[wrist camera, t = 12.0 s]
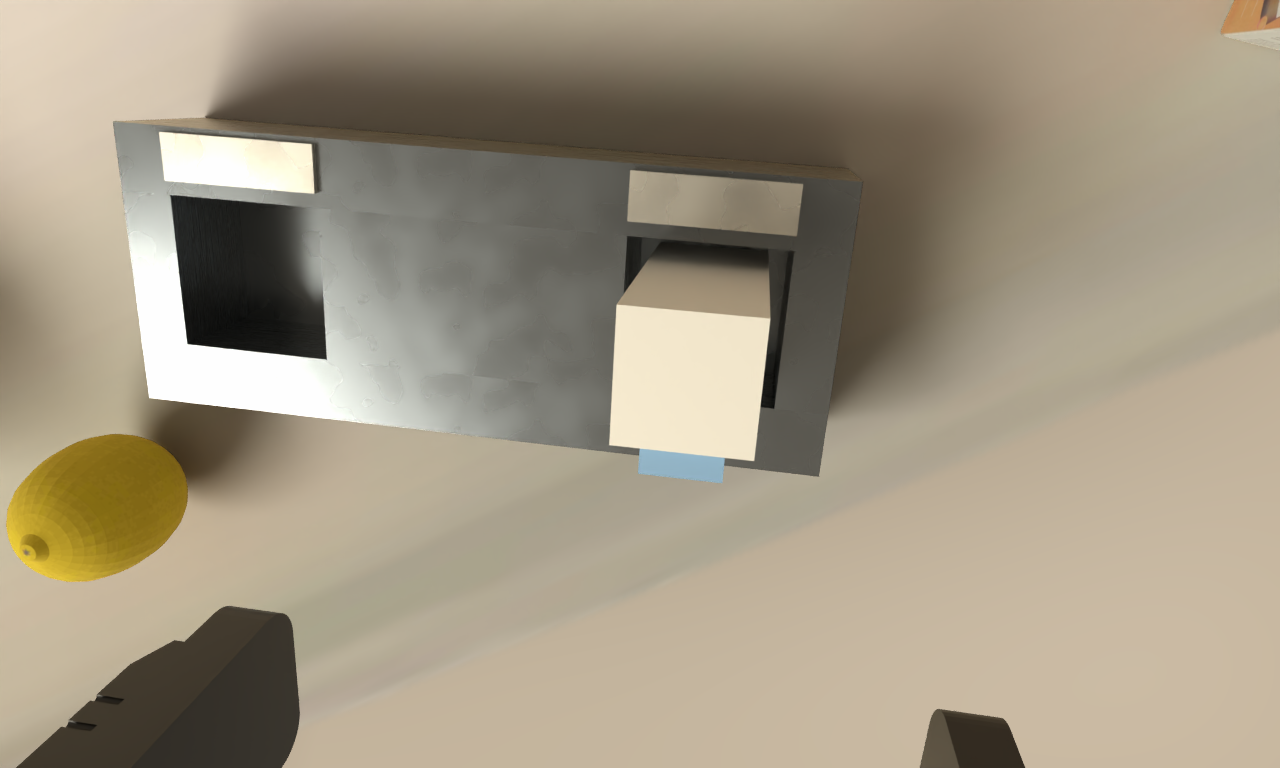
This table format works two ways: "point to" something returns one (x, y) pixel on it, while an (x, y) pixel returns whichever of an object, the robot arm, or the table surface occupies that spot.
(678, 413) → the plug
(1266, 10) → the small box
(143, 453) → the lemon
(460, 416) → the panel
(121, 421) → the table surface
